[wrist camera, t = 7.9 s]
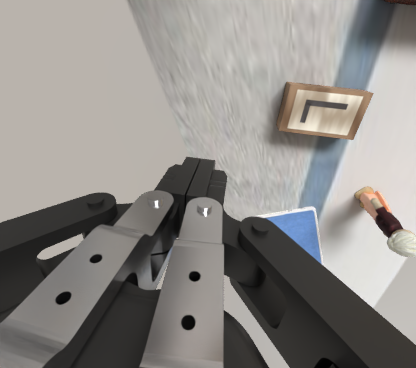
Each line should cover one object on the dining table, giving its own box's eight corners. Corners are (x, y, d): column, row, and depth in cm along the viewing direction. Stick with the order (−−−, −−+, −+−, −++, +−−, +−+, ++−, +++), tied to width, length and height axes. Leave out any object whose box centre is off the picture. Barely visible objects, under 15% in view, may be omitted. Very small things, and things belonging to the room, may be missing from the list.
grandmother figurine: (388, 203, 38) (447, 264, 27) (366, 215, 39) (412, 276, 28) (364, 173, 36) (417, 225, 25) (342, 187, 37) (382, 241, 26)
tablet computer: (246, 215, 44) (246, 219, 43) (314, 203, 40) (316, 207, 39) (266, 279, 52) (267, 284, 51) (324, 273, 49) (326, 279, 48)
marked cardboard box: (290, 84, 28) (373, 93, 27) (286, 81, 31) (360, 89, 30) (279, 130, 31) (353, 140, 30) (276, 124, 34) (343, 132, 33)
